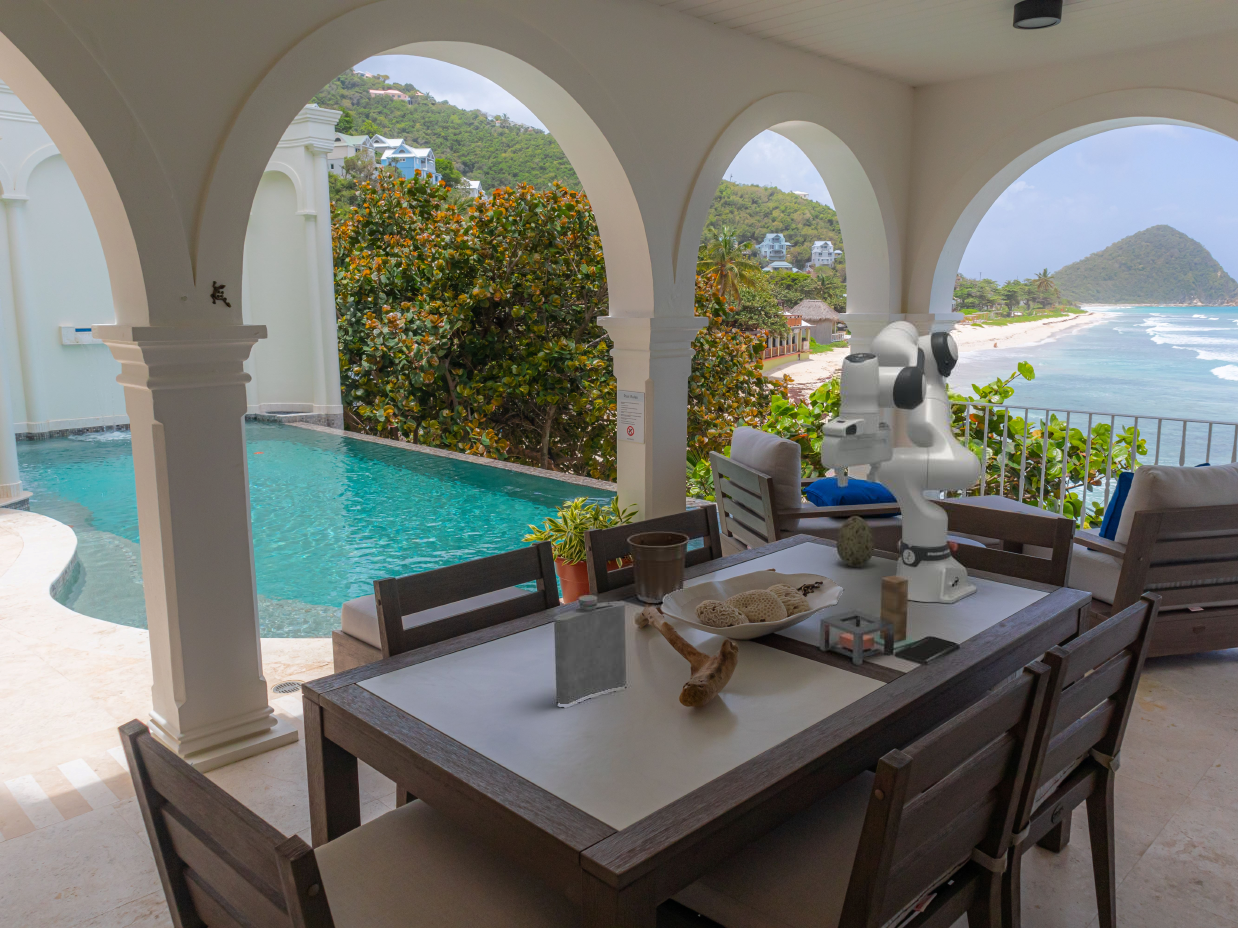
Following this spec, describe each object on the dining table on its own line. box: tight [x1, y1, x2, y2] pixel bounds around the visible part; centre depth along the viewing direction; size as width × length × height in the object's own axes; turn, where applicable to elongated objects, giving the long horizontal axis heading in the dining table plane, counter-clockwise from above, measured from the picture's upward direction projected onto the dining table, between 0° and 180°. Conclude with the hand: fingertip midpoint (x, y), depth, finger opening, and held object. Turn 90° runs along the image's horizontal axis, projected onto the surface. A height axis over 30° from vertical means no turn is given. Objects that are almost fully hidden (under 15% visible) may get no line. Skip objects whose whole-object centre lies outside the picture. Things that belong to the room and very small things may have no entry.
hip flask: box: [553, 594, 627, 704], centre depth 171 cm, size 16×4×20 cm, turn 127°
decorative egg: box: [836, 515, 876, 568], centre depth 258 cm, size 11×11×15 cm
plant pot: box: [626, 531, 690, 600], centre depth 232 cm, size 16×16×16 cm
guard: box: [819, 609, 895, 666], centre depth 192 cm, size 11×11×7 cm
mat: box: [871, 632, 920, 651], centre depth 199 cm, size 8×8×1 cm
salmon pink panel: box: [838, 632, 875, 650], centre depth 192 cm, size 5×5×2 cm
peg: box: [879, 575, 909, 643], centre depth 197 cm, size 4×4×14 cm
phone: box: [894, 635, 961, 666], centre depth 192 cm, size 8×1×15 cm
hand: (857, 484), depth 204 cm, fingers open, 8 cm apart
